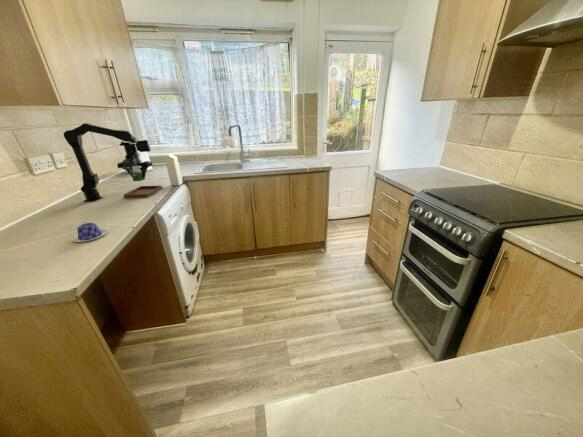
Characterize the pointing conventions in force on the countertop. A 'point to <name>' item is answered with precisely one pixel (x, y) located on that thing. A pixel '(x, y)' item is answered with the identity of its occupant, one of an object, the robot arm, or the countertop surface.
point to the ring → (138, 177)
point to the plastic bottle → (143, 157)
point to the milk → (173, 170)
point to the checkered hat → (88, 232)
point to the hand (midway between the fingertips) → (138, 178)
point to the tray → (142, 192)
